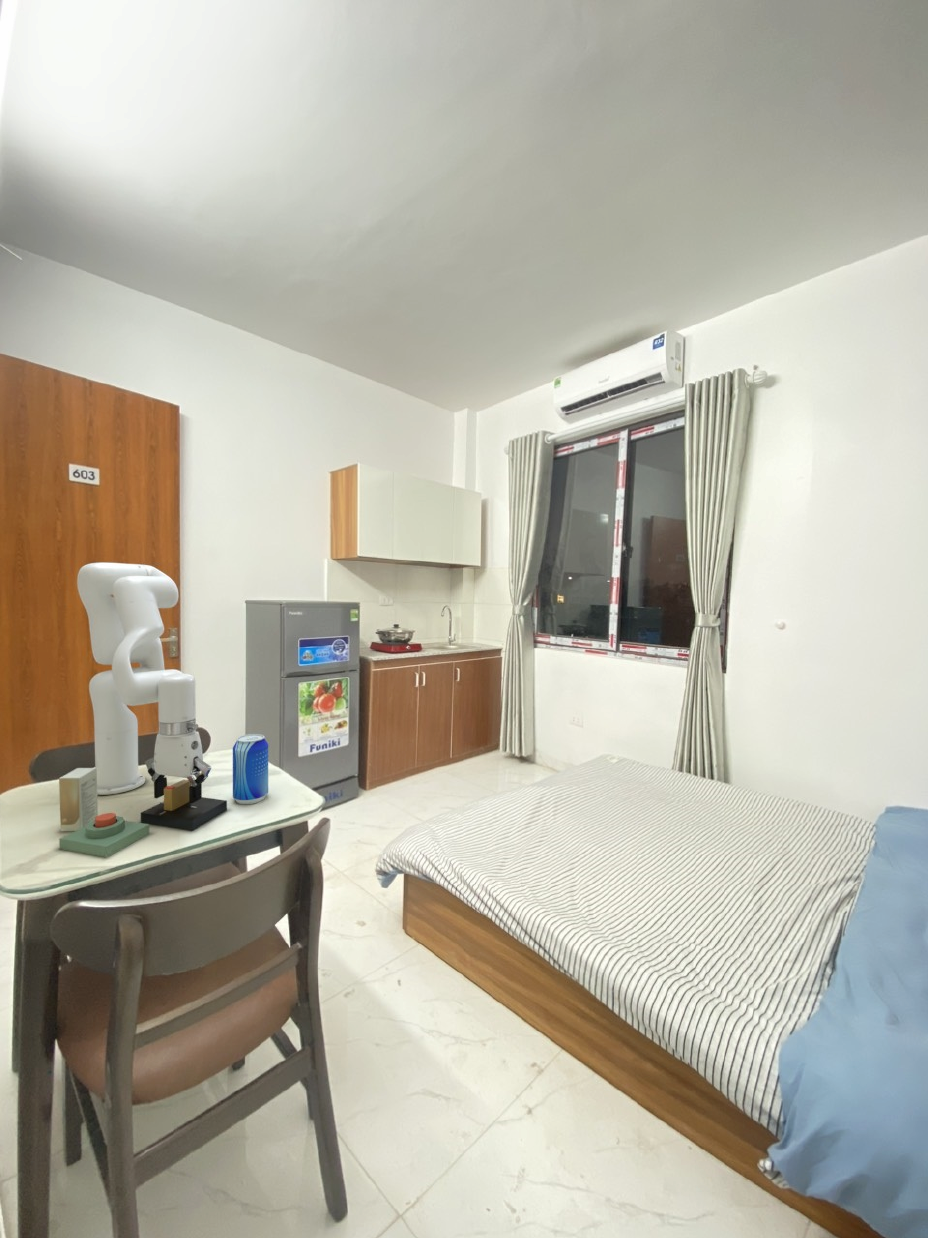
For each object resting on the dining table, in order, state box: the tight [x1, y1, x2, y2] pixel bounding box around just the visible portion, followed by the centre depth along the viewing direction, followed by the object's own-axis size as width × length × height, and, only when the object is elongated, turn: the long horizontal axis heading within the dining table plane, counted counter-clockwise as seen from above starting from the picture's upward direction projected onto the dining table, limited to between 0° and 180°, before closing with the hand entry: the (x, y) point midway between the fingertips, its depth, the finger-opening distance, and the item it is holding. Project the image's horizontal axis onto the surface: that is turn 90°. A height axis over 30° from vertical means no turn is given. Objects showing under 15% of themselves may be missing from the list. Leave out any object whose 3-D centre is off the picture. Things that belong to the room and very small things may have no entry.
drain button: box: [95, 812, 117, 828], centre depth 104 cm, size 4×4×2 cm
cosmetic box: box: [58, 767, 99, 832], centre depth 111 cm, size 6×4×12 cm
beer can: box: [232, 733, 269, 805], centre depth 127 cm, size 8×8×16 cm
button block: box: [58, 815, 150, 858], centre depth 104 cm, size 12×10×4 cm
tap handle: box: [163, 779, 192, 811], centre depth 117 cm, size 6×2×5 cm, turn 167°
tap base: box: [140, 796, 228, 832], centre depth 117 cm, size 14×11×3 cm
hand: (177, 798), depth 117 cm, fingers open, 9 cm apart
